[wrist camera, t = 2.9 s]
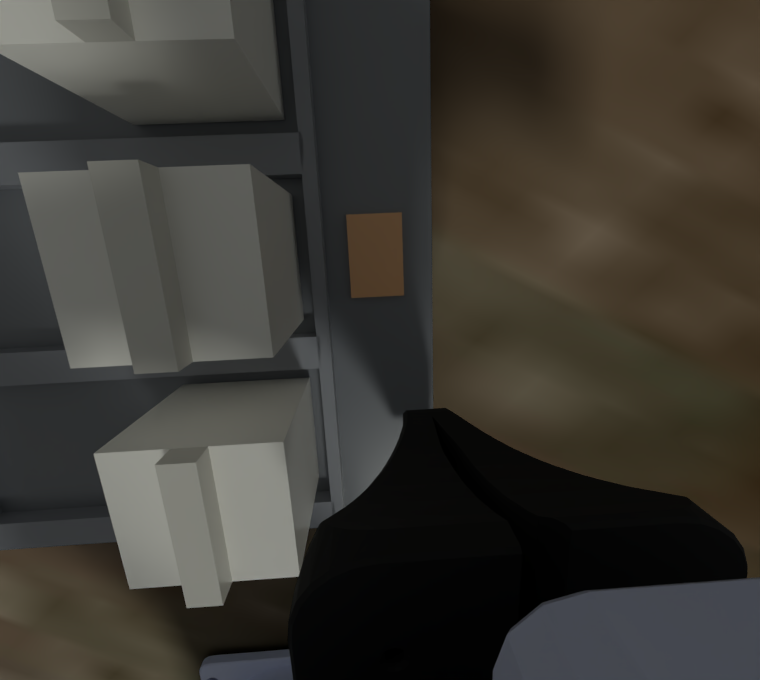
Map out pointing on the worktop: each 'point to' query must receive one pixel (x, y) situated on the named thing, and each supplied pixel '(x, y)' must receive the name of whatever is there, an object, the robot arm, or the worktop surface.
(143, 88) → the grey ridged block
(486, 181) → the worktop surface
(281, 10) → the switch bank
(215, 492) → the grey ridged block
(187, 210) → the grey ridged block
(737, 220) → the worktop surface
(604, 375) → the worktop surface
